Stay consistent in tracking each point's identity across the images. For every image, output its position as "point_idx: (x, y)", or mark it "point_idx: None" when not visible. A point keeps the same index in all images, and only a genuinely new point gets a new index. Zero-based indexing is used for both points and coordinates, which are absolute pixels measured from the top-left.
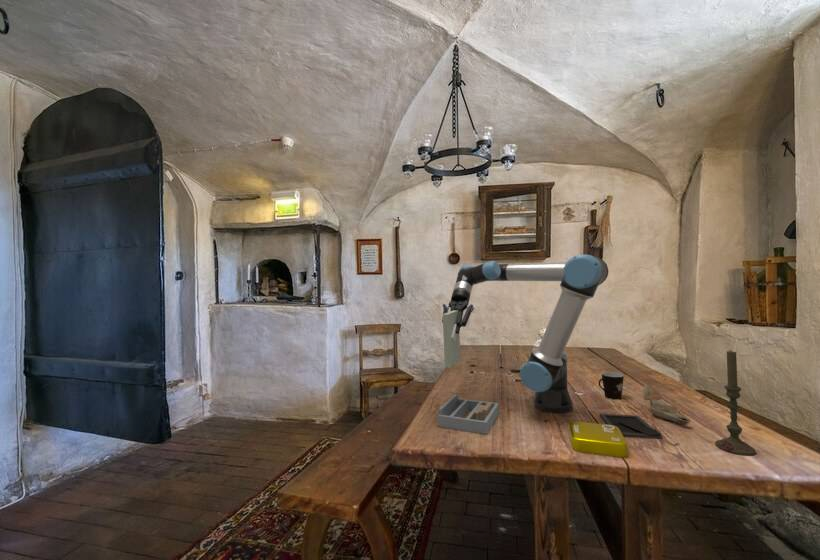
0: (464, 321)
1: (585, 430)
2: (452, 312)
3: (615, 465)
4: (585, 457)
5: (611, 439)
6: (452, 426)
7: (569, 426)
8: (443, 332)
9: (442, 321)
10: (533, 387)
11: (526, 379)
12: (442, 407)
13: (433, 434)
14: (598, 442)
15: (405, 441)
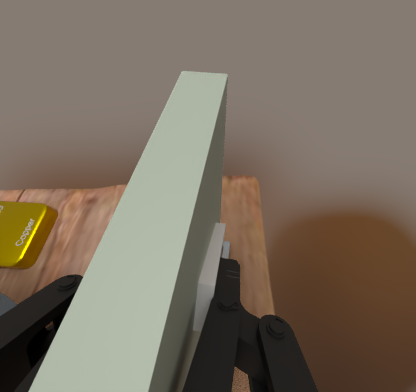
0: (52, 283)
1: (16, 230)
2: (133, 183)
3: (34, 190)
4: (54, 199)
5: (2, 209)
6: None
7: (29, 243)
8: (222, 173)
9: (285, 328)
10: (11, 302)
11: (7, 309)
12: (224, 253)
13: (228, 218)
14: (23, 202)
15: (257, 192)
